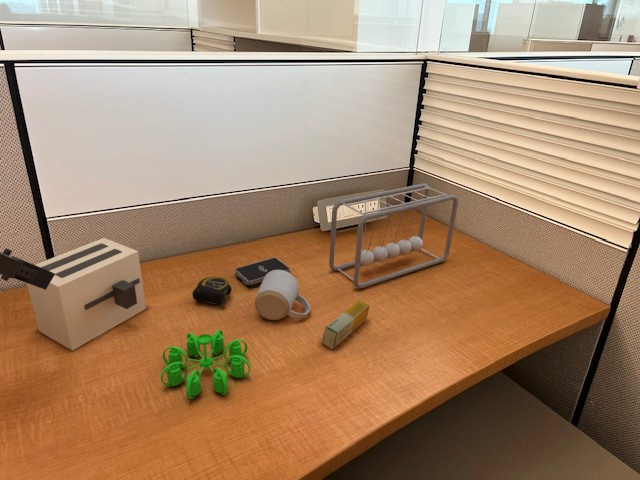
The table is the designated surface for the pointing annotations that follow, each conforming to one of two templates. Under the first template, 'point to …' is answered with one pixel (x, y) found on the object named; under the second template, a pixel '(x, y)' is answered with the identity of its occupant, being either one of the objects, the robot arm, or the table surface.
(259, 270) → the external hard drive
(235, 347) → the chandelier
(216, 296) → the tape measure
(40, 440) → the table surface
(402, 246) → the newton's cradle
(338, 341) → the medication box
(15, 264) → the robot arm
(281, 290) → the ceramic mug
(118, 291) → the slider button
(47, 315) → the toaster
